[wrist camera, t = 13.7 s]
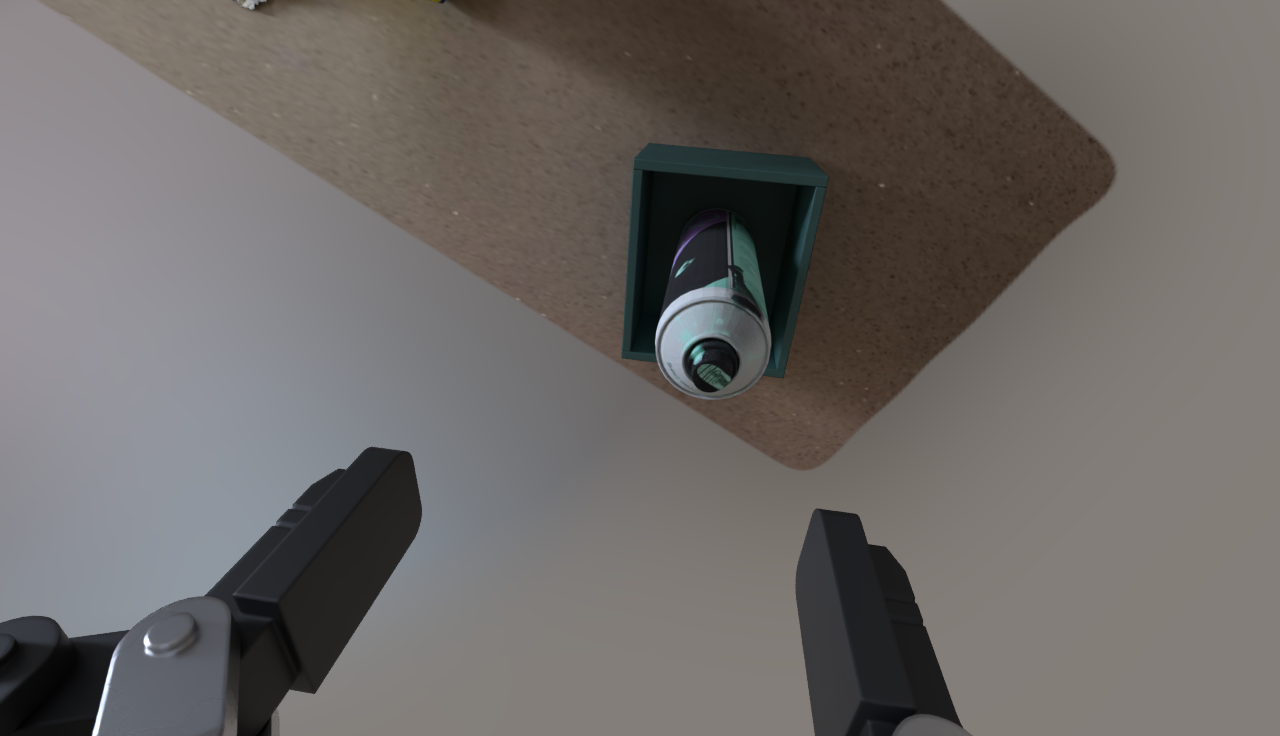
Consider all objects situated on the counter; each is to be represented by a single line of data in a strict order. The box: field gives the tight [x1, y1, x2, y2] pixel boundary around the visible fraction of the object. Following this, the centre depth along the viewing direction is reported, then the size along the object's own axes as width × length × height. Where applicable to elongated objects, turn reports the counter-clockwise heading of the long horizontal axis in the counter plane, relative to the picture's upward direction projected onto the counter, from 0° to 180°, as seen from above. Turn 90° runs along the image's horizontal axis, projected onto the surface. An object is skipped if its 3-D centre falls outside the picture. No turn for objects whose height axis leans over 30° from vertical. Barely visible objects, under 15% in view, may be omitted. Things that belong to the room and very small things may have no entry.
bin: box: [622, 143, 829, 378], centre depth 38 cm, size 13×11×8 cm
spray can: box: [655, 208, 771, 400], centre depth 32 cm, size 6×6×20 cm
